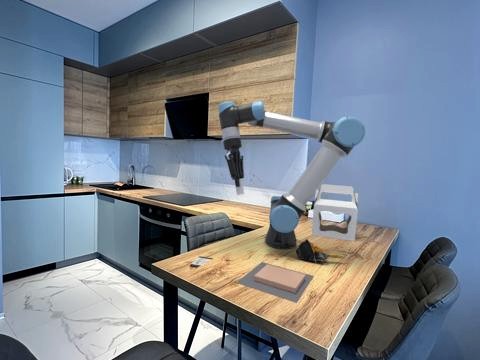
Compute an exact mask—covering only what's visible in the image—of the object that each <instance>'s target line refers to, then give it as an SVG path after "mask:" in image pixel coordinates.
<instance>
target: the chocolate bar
mask: <svg viewBox="0 0 480 360" xmlns="http://www.w3.org/2000/svg"><path fill="white" fill-rule="evenodd" d="M213 259H214V258H212V257H207V256H200V255H199V256H198V257H197V258H196V259H195V260H194V261H192V262H191V263H190V264H189V267H190V268H195V269H198V268H199V267H202V266H203V265H204V264H207V263H209V262H210V261H212V260H213Z"/></svg>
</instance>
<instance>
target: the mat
mask: <svg viewBox="0 0 480 360" xmlns="http://www.w3.org/2000/svg"><path fill="white" fill-rule="evenodd" d="M267 264H268V265H272V266H276V267H280V268H283V269H287V270H291V271H294V272H298V273H302V274H305V275H306V276H305V280H304V282H303V283H302V285H301V286H300V287H299V289H298V290H297V292H296V293H292V292H289V291H286V290H283V289H280V288H276V287H273V286H270V285H267V284H264V283H260V282H257V281H254V275H255V274H257V273H258V272H259V271H260V270H261V269H262V268H264V267H265V266H266V265H267ZM313 278H315V276H314V275H313V274H308V273H305V272H301V271H297V270H293V269H289V268H286V267H282V266H279V265H275V264H271V263H267V262H262V261H261V262H260V263H259V264H258V265H256V266H255V267H254V268H252V270H250V271H248V272H247V273H246V274H245V275H244V276H242V278H240V279H239V280H238V281H237V282H235V283H236V284H238V285H241V286H244V287H247V288H250V289H253V290H256V291H259V292H262V293H265V294H267V295H270V296H275V297H278V298H280V299H284V300H286V301H289V302H293V303H295V304H297V303H298V302H299V300H300V299H301V297H302V296H303V294H304V293H305V291H306V289H307V288H308V286H309V285H310V284H311V281H312V280H313Z"/></svg>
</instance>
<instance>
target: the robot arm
mask: <svg viewBox="0 0 480 360" xmlns="http://www.w3.org/2000/svg"><path fill="white" fill-rule="evenodd" d="M217 110H218V119H219V124H220V130H221V136H222V140H223V141H222V143H223V149H224V150H225V151H226V153H227V154H224V158H225V160H226V164H227V167H228V170H229V174H230V178H231V180H232V181H234V185H235V191H236V196H240V195H244V194H245V191H244V185H243V179H244V178H245V173H244V172H245V171H244V156H243V155H241V151H240V149H241V148H242V147H243V146H242V138H241V133H240V132H241V131H240V127H239V125H240V124H241V125H242V124H245V123H247V124H248V125H249V126H251V127H259V128H265V129H267V130H268V129H269V130H273V131H277V132H283V133H286V134H292V135H295V136H301V137H304V138H309V139H313V140H316V142H318V143H322V144H321V145H322V146H321V147H320V149H319V150H318V152H317V153H316V154H315V156H314V157H313V158H312V160H311V161H310V162H309V164H308V165H307V167H306V168H305V170H304V171H303V172H302V173H301V175H300V176H299V178H298V179H297V180H296V182H295V183H294V185H293V186H292V187H291V189H290V190H288V191H289V192H287V193H282V194H281V195H279V196H278V195H272V196H271V199H270V208H269V209H270V211H269V215H268V217H269V218H268V219H269V227H268V230H267V232H266V234H265V239H264V243H265V244H266V245H267V246H268V247H271V248H275V249H280V250H282V249H286V250H287V249H294V248H296V247H297V242H298V240H297V235H296V232H295V229H297V227H298V225H299V222H300V219H301V218H302V216H303V215H304V214H305V212H306V210H307V209H306V205H307V204H308V202H309V201H310V200H311V198H312V197H313V196H314V195H315V194H316V190H317V189H318V190H319V187H321V185H322V184H323V182H324V181H325V179H327V177H328V176H329V174H331V173H330V172H331V171H333V169H334V168H335V166H336V165H337V164H338V162H339V161H340V160H341V159H342V158H346V157H348V155H349V154H350V153H351V151H352V150H353V149H354V147H356V146H357V145H359V144H360V143H362V141H363V140H364V138H365V135H366V129H365V124H364V123H363V122H362V120H360V119H359V118H358V117H355V116H349V115H348V116H343V117H340V118H339V119H338V120H336V121H326V120H323V121H321V122H319V121H313V120H309V119H304V118H301V117H297V116H291V115H288V114H287V115H286V114H281V113H277V112H273V111H272V112H271V111H266V110H265V106H264V101H262V100H259V101H252V102H249V103H245V104H239V105H236V103H235V102H233V101H223V102H221V103H219V104H218V109H217Z"/></svg>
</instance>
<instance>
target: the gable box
mask: <svg viewBox="0 0 480 360" xmlns="http://www.w3.org/2000/svg"><path fill="white" fill-rule="evenodd" d="M324 193H329V194H340V195H349V196H351V201H347V200H346V201H345V200H336V199H325V198H322V197H321V196H322V194H324ZM314 199H315V201H314V203H313V214H312V215H313V216H312V227H311V236H315V237H322V238H328V239H335V240H342V241H349V242H356V236H357V235H356V234H357V225H358V224H357V223H358V215H359V213H358V211H359V207H358V203H359V193H358V192H355V191H354V187H353V186H351V185H340V184H338V185H337V184H327V183H326V184H325V183H321V185H320V189H319V188H318V189H317V190H316V191H315V193H314ZM321 212H330V213H333V214H338V215H341V214H342V215H345V214H346V215H349V216H348V217H347V219H346V226H345V227H340V226H339V225H335V224H326V225H325V224H322V219H323V217H322V214H321Z"/></svg>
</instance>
